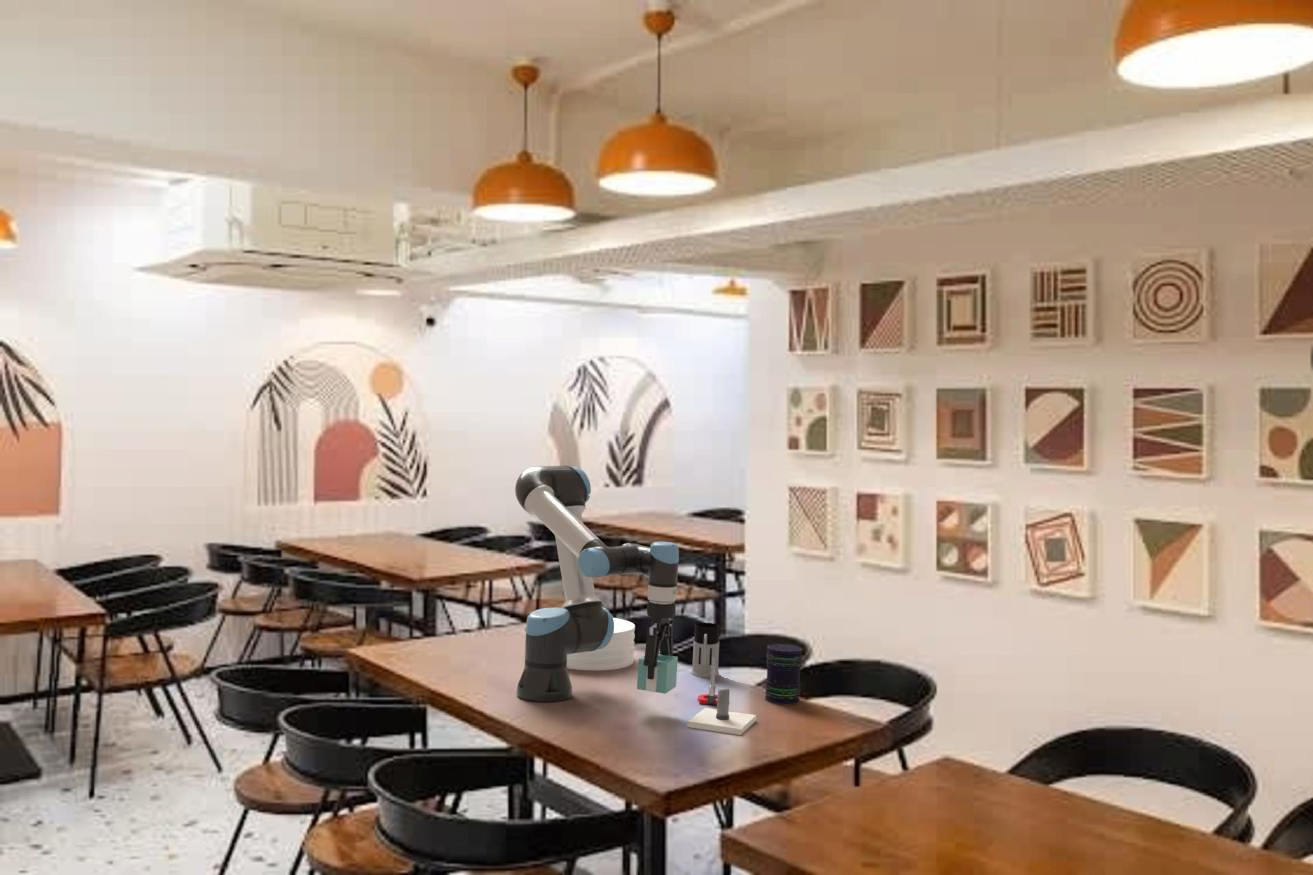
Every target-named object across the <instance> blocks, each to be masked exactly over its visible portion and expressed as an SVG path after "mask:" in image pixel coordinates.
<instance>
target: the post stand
mask: <svg viewBox="0 0 1313 875" xmlns="http://www.w3.org/2000/svg"><path fill="white" fill-rule="evenodd" d="M730 691H731V690H730V688H728V687H718V688H717V695H718V699H717V698H716V700H717V705H716V709H715V708H711V707H708V708H707V707H704V708H703V709H702V710H700V711H699V712H698V713H697V714H695V715H694V716H693V717H691V718H690V719H689V720H688V721H687V728H690V729H691V728H692V729H697V730H698V729H699V730H703V731H705V730H706V731H711V732H717V733H723V734H731V735H738V736H741V735H743V734H744V733H745V732H746V731H747V730H748V729H749V728H750V727H751V726H752V725H753V724H754V723H755V722H756V721H757V715H756V714H751V713H750V714H749V713H742V712H736V711H730V710H729V709H730V708H729V707H730Z"/></svg>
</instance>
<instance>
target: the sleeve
mask: <svg viewBox="0 0 1313 875" xmlns="http://www.w3.org/2000/svg"><path fill="white" fill-rule="evenodd" d="M644 657H645V655H643V656H641V657H639V658H638V661H637V662H638V665H637V680H636V689H637V690H639V691H646V677H647V666H644V665H643V664H644ZM678 659H679V658H678V656H674V655H672V656H669V655H662V654H660V653H659V655H658V660H657V665H656V666H658V672H657V690H656V692H655V693H658V694H659V693H660V694H668V693H669V692H670V691H672V690H673V689H675V688H677V678H678V677H677V675H678V661H679V660H678ZM646 692H647V691H646Z"/></svg>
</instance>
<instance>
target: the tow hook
mask: <svg viewBox="0 0 1313 875" xmlns="http://www.w3.org/2000/svg"><path fill="white" fill-rule="evenodd" d="M715 667H716V666H715V658H712V665H711V677H710V680H709V681H710V684H709V686H708V694H699V695H698V696H697V700H698V701H699V702H698V703H699V704H700V705H708V706H717V699H718V694H716V686H715V684H716V683H715V682H716V677H715Z"/></svg>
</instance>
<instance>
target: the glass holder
mask: <svg viewBox="0 0 1313 875" xmlns="http://www.w3.org/2000/svg"><path fill="white" fill-rule="evenodd" d="M692 648H693V649H692V650H693V651H692V652H693V653H692V668H691V672H690V674H691V675H692V676H694V677H698V678H711V665H712V658H715V666H716V667H715V678H716V677H719V676H720V671H719V658H720V657H719V654H720V624H717V623H712V622H698V623H697V622H696V623H694V638H693V647H692Z"/></svg>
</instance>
